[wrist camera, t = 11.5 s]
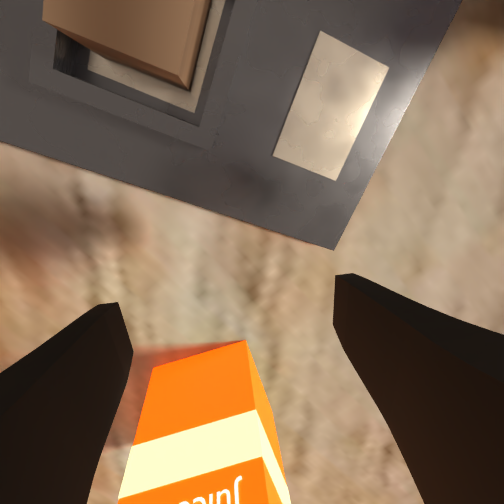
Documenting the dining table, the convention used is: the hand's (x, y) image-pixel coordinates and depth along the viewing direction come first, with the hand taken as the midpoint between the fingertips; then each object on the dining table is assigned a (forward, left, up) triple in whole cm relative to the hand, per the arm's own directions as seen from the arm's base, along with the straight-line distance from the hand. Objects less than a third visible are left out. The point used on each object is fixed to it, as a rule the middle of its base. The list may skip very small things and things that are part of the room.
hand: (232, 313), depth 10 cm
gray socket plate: (+4, -8, -9) cm, 13 cm away
